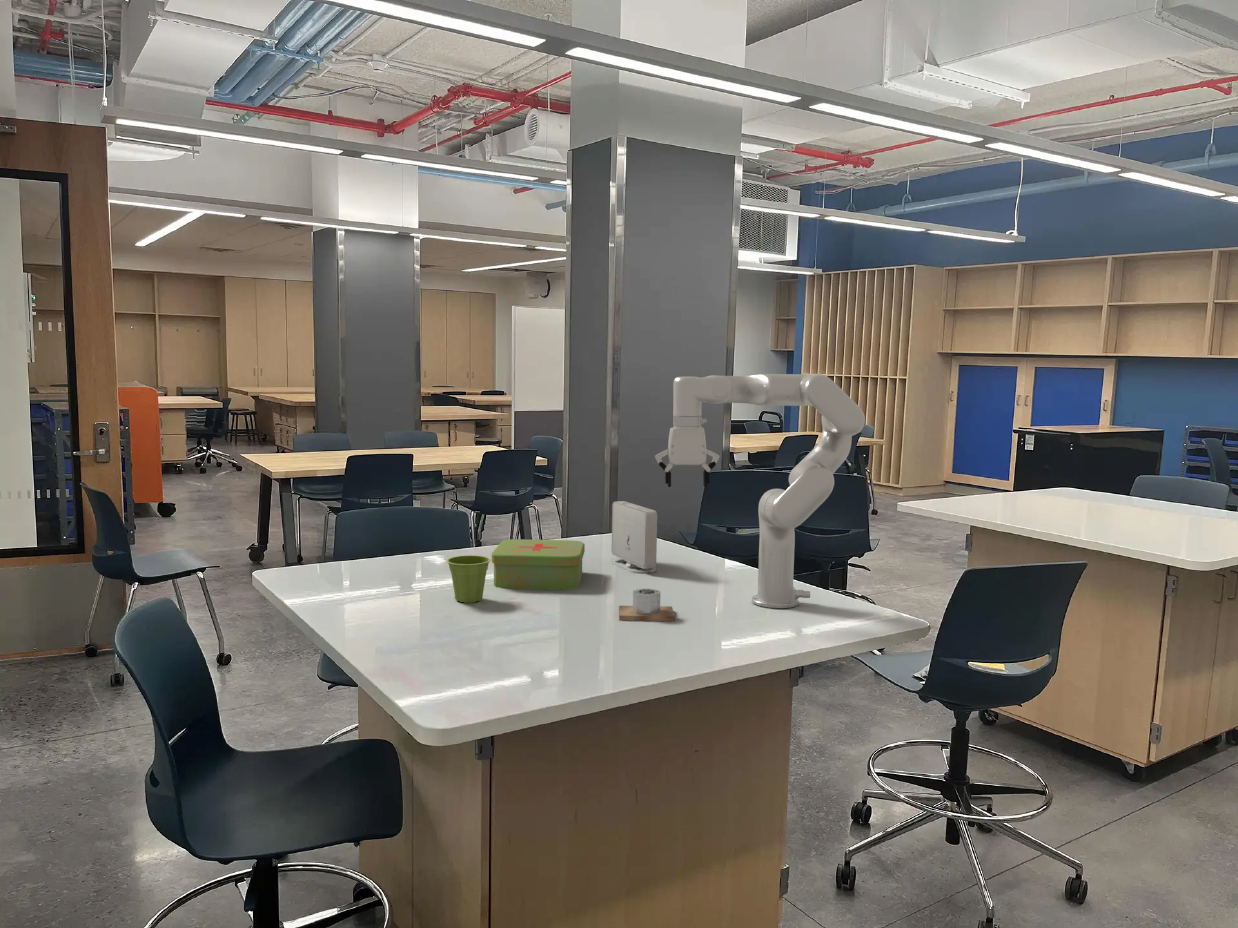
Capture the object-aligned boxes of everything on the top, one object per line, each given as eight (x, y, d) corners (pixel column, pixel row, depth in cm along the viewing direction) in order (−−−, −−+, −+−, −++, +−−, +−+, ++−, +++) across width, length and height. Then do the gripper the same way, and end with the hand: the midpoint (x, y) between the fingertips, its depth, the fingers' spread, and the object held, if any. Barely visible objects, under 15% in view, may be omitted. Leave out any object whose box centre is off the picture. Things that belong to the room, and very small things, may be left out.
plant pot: (441, 597, 247) (441, 557, 246) (482, 593, 252) (482, 553, 251) (453, 607, 237) (453, 565, 235) (496, 602, 242) (496, 561, 241)
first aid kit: (579, 591, 258) (580, 556, 257) (489, 588, 259) (489, 554, 258) (584, 571, 284) (585, 540, 283) (502, 569, 285) (502, 538, 284)
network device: (605, 560, 301) (606, 501, 299) (628, 558, 305) (629, 500, 303) (638, 575, 278) (640, 512, 276) (663, 573, 282) (665, 510, 280)
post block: (671, 610, 237) (672, 587, 236) (674, 620, 227) (675, 596, 226) (618, 609, 237) (619, 586, 236) (619, 620, 227) (619, 596, 226)
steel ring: (659, 607, 235) (659, 588, 235) (660, 614, 228) (661, 595, 228) (632, 607, 235) (632, 588, 235) (633, 614, 228) (633, 594, 228)
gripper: (717, 421, 243) (717, 484, 245) (654, 422, 243) (654, 484, 245) (721, 423, 236) (721, 487, 238) (655, 423, 235) (655, 488, 237)
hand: (687, 486), depth 241 cm, fingers open, 9 cm apart
